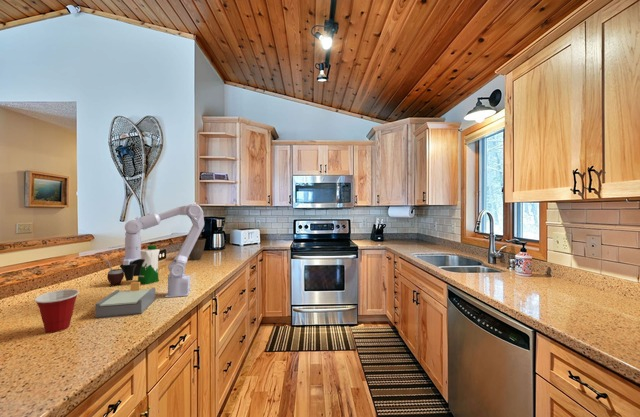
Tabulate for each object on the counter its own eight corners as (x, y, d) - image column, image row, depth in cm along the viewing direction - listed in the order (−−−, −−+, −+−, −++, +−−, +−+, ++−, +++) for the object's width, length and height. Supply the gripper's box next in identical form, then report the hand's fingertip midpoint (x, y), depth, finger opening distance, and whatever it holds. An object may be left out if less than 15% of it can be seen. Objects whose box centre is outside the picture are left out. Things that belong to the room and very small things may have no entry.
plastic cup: (26, 339, 82) (26, 301, 82) (43, 325, 91) (43, 291, 91) (72, 332, 87) (72, 296, 87) (83, 320, 96) (83, 287, 96)
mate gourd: (127, 283, 143) (127, 255, 143) (114, 287, 135) (114, 258, 135) (114, 282, 144) (114, 255, 144) (101, 287, 136) (101, 258, 136)
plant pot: (191, 262, 200) (191, 241, 200) (180, 259, 208) (181, 239, 208) (209, 259, 212) (209, 239, 212) (198, 257, 220) (198, 238, 220)
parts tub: (155, 299, 118) (155, 287, 118) (141, 314, 102) (141, 300, 102) (116, 302, 114) (116, 290, 114) (95, 318, 98) (95, 303, 98)
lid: (151, 290, 118) (151, 281, 118) (137, 303, 102) (137, 292, 102) (120, 292, 115) (120, 283, 115) (100, 306, 98) (100, 295, 98)
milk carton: (161, 280, 148) (161, 245, 148) (145, 285, 140) (145, 247, 140) (150, 279, 151) (150, 244, 151) (134, 283, 143) (134, 246, 143)
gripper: (129, 245, 122) (129, 274, 122) (114, 250, 108) (114, 283, 108) (146, 244, 124) (146, 273, 124) (134, 249, 110) (134, 282, 110)
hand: (133, 278), depth 116 cm, fingers open, 7 cm apart
